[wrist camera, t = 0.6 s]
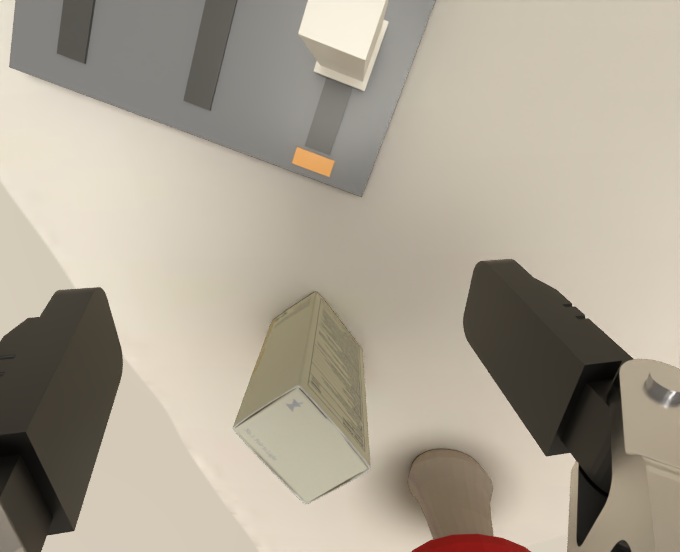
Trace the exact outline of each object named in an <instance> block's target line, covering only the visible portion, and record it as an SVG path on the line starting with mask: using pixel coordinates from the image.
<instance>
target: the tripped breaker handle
mask: <svg viewBox="0 0 680 552" xmlns="http://www.w3.org/2000/svg"><path fill="white" fill-rule="evenodd" d="M387 4H388V0H308V2H307V5H306V8H305V12H304V15H303V19H302V22H301V26H300V29H299V33H298V34H299V36H300V37H301V39H302V40H303V42H304V43H305V44H306V46H307V47H308V49H309V50H310V52H311V53H312V54H313V56H314V57H315V59H316V60H317V61H316V64H315V68H314V72H315V73H318V74H320V75H323V76H325V77H328V78H330V79H333V80H336V81H338V82H341V83H343V84H346V85H349V86H351V87H354V88H356V89H359V90H361V91H365V89H366V86H367V83H368V80H369V77H370V74H371V71H372V69H373V66H374V63H375V60H376V57H377V54H378V51H379V49H380V46H381V43H382V40H383V37H384V34H385V31H386V29H387V26H388V23H389V22H388V21H386V20H384V16H385V12H386V8H387Z"/></svg>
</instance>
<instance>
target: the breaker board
mask: <svg viewBox="0 0 680 552" xmlns="http://www.w3.org/2000/svg"><path fill="white" fill-rule="evenodd" d="M435 1H436V0H388V4H387V8H386V12H385V16H384V20H386V21H388V22H389V23H388V26H387V29H386V31H385V34H384V37H383V40H382V43H381V46H380V49H379V51H378V54H377V57H376V60H375V63H374V66H373V69H372V71H371V74H370V77H369V80H368V83H367V86H366V89H365V91H361V90H359V89H356V88H354V87H351V86H349V85H346V84H343V83H341V82H338V81H336V80H333V79H330V78H328V77H325V76H323V75H320V74H318V73H315V72H314V68H315V64H316V61H317V60H316V59H315V57H314V56H313V54H312V53H311V52H310V50H309V49H308V47H307V46H306V44H305V43H304V42H303V40H302V39H301V37H300V36H299V34H298V33H299V29H300V26H301V22H302V19H303V15H304V12H305V8H306V5H307V2H308V0H16V2H15V12H14V22H13V33H12V43H11V53H10V64H9V67H10V68H13V69H16V70H18V71H21V72H24V73H26V74H29V75H32V76H35V77H37V78H40V79H43V80H45V81H48V82H51V83H54V84H56V85H59V86H62V87H64V88H67V89H70V90H73V91H75V92H78V93H81V94H83V95H86V96H89V97H92V98H94V99H97V100H100V101H102V102H105V103H108V104H111V105H113V106H116V107H119V108H121V109H124V110H127V111H130V112H132V113H135V114H138V115H140V116H143V117H146V118H149V119H151V120H154V121H157V122H159V123H162V124H165V125H168V126H170V127H173V128H176V129H178V130H181V131H184V132H187V133H189V134H192V135H195V136H197V137H200V138H203V139H206V140H208V141H211V142H214V143H216V144H219V145H222V146H225V147H227V148H230V149H233V150H235V151H238V152H241V153H244V154H246V155H249V156H252V157H254V158H257V159H260V160H263V161H265V162H268V163H271V164H273V165H276V166H279V167H282V168H284V169H287V170H290V171H292V172H295V173H298V174H301V175H303V176H306V177H309V178H311V179H314V180H317V181H320V182H322V183H325V184H328V185H330V186H333V187H336V188H339V189H341V190H344V191H347V192H349V193H352V194H355V195H358V196H360V197H362V195H363V192H364V190H365V187H366V184H367V182H368V179H369V176H370V174H371V171H372V168H373V166H374V163H375V160H376V158H377V155H378V153H379V150H380V147H381V145H382V142H383V139H384V137H385V134H386V131H387V129H388V126H389V123H390V121H391V118H392V115H393V113H394V110H395V107H396V105H397V102H398V99H399V97H400V94H401V91H402V89H403V86H404V83H405V81H406V78H407V75H408V73H409V70H410V67H411V65H412V62H413V59H414V57H415V54H416V51H417V49H418V46H419V43H420V41H421V38H422V35H423V33H424V30H425V27H426V25H427V22H428V19H429V17H430V14H431V11H432V9H433V6H434V3H435Z"/></svg>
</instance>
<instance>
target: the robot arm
mask: <svg viewBox="0 0 680 552" xmlns="http://www.w3.org/2000/svg"><path fill="white" fill-rule="evenodd" d="M463 326H464V332H465V336H466V338H467V341H468V342H469V344H470V345H471V347H472V348H473V350H474V351H475V353H476V354H477V356H478V357H479V359H480V360H481V362H482V363H483V365H484V366H485V367H486V369H487V370H488V372H489V373H490V375H491V376H492V378H493V379H494V381H495V382H496V384H497V385H498V387H499V388H500V389H501V391H502V392H503V394H504V395H505V397H506V398H507V400H508V401H509V403H510V404H511V406H512V407H513V409H514V410H515V411H516V413H517V414H518V416H519V417H520V419H521V420H522V422H523V423H524V425H525V426H526V428H527V429H528V431H529V432H530V434H531V435H532V436H533V438H534V439H535V441H536V442H537V444H538V445H539V447H540V448H541V450H542V451H543V453H544V454H545V456H552V455H558V454H564V453H571V454H572V455H573V457H574V458H575V459H576V461H575V464H574V466H573V468H572V470H571V483H570V504H569V525H568V546H567V552H680V369H678V368H676V367H674V366H671V365H669V364H666V363H663V362H659V361H655V360H649V359H633V358H632V357H631V356H630V355H628V354H627V353H626V352H625V351H624V350H623V349H622V348H621V347H620V346H618V345H617V344H616V343H615V342H614V341H613V340H612V339H611V338H610V337H608V336H607V335H606V334H605V333H604V332H603V331H602V330H601V329H600V328H598V327H597V326H596V325H595V324H594V323H593V322H592V321H591V320H590V319H588V318H587V319H585V315H584V314H583V313H582V312H581V311H580V310H578V309H577V308H576V307H572V303H571V302H570V301H568V300H567V299H566V298H565V297H564V296H563V295H562V294H561V293H560V292H558V291H557V290H556V289H554V288H552V287H550V286H549V285H547V284H545V283H543V282H541V281H539V280H537V279H535V278H533V277H532V276H531V275H530V274H529V273H528V272H527V271H526V270H525V269H524V268H523V267H521V266H520V265H519V264H518V263H517V262H516V261H515V260H513V259H504V260H490V261H480V262H478V263H477V264H476V266H475V268H474V271H473V276H472V280H471V285H470V289H469V294H468V298H467V303H466V307H465V312H464V317H463ZM122 367H123V359H122V350H121V346H120V342H119V339H118V335H117V332H116V328H115V325H114V321H113V317H112V314H111V310H110V307H109V303H108V300H107V297H106V294H105V292H104V290H103V289H102V288H100V287H97V288H82V289H70V290H69V289H68V290H58V291H57V292H55V294H54V295H53V296H52V298H51V300H50V301H49V303H48V304H47V306H46V308H45V309H44V311H43V312H42V314H41V316H40V317H35V318H28V319H26V320H25V321H24V322H22V323H21V324H20V325H18V326H17V327H16V328H14V329H13V330H12V331H10V332H9V333H8V334H6V335H5V336H4V337H3V338H2V340H1V341H0V552H41V550H42V547H43V545H44V542H45V539H46V536H47V535H53V534H59V533H65V532H71V531H74V530H75V527H76V523H77V520H78V517H79V514H80V511H81V507H82V504H83V501H84V497H85V494H86V491H87V488H88V484H89V481H90V478H91V474H92V471H93V468H94V465H95V462H96V458H97V455H98V452H99V448H100V445H101V442H102V439H103V435H104V432H105V429H106V425H107V422H108V419H109V416H110V413H111V409H112V406H113V403H114V399H115V396H116V393H117V390H118V386H119V383H120V380H121V376H122Z"/></svg>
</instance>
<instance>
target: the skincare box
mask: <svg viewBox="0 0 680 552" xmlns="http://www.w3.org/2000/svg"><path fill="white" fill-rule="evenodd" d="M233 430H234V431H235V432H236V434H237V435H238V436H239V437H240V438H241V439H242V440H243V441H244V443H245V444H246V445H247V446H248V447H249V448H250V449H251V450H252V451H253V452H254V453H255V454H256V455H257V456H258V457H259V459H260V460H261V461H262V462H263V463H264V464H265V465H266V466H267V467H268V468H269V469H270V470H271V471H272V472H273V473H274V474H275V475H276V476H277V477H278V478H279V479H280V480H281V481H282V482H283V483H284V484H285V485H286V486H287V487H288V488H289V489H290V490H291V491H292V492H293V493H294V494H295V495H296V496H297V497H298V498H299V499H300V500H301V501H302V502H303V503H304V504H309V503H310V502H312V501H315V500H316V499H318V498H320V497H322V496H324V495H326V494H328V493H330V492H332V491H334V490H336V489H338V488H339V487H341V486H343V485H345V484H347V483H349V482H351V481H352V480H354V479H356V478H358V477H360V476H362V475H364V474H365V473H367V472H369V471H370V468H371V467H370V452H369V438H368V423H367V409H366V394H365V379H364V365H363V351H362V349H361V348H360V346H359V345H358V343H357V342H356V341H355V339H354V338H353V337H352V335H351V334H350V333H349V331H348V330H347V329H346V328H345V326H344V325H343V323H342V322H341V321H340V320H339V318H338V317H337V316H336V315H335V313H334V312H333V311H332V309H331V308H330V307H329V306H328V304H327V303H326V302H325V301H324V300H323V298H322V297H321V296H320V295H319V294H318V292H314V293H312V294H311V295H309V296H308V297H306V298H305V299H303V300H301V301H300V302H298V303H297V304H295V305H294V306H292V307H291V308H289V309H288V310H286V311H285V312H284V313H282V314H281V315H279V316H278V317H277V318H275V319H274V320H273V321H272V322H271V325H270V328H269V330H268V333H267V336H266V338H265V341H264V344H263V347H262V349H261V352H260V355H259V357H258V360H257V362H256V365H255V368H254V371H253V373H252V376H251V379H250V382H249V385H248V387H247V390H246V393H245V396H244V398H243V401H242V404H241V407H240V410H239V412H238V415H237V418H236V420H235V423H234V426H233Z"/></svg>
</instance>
